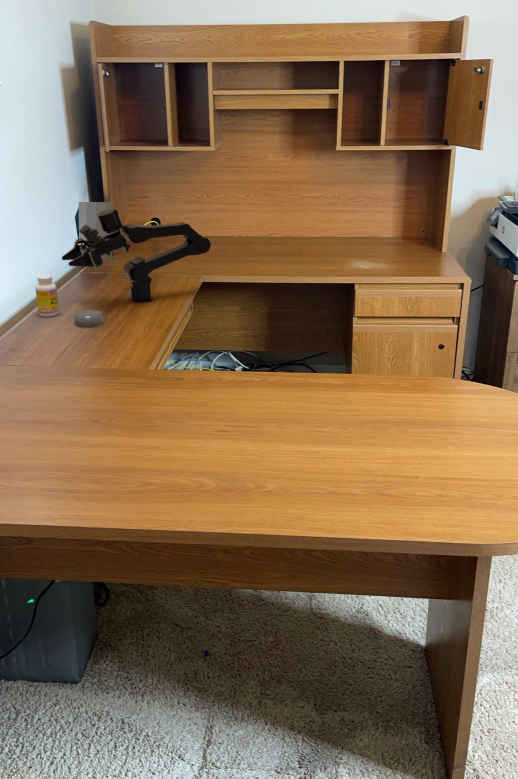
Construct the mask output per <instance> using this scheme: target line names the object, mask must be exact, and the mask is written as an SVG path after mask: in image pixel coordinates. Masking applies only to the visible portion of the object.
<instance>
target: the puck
mask: <svg viewBox="0 0 518 779" xmlns="http://www.w3.org/2000/svg"><path fill="white" fill-rule="evenodd" d="M73 323H74V326H75V325H77V326H79V327H78V328H83V327H89V328H95V327H94V326H96V327H99V326H101V325H103V324H102V323H104V316H103V312H102V311H100V310H96V309H95V310H94V309H87V310H86V309H85V310H84V309H83V310H81V311H80V310H79V311H77V312H75V313H74V314H73ZM100 324H101V325H100ZM98 325H99V326H98ZM77 326H76V327H77Z"/></svg>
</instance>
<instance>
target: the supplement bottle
mask: <svg viewBox="0 0 518 779" xmlns="http://www.w3.org/2000/svg"><path fill="white" fill-rule="evenodd" d="M36 280H37V282H38V283H37V284H36V285H35V296H36V297H35V298H36V303H37V304H36V306H37V312H38V315H39V316H40V317H45V318H47V317H48V318H49V317H54V316H57V315H58V314H59V313H60V311H59V310H60V309H59V300H58V291H57V285H56V283H54V282H53V276H52V275H51V274H42V275H38V276H37V278H36Z"/></svg>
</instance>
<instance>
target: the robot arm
mask: <svg viewBox="0 0 518 779" xmlns="http://www.w3.org/2000/svg"><path fill="white" fill-rule="evenodd" d="M96 216H97V219H98V221H99V224H100V227H101V229H102V231H103V233H104V232H105V233H107V235H103V236H102V235H101V236H100V235H99V231H98V230H97V229H96V228H91V227H90V226H89V225H87V224H84V225H83V226H82V227H80V229H79V230H78V232H79V233H80V234H81V235H83V236H84V238H85V239H86V240H85V239H84V238H82V237H80V238H79V237H78V238H77V239H75V241H74V245H73V247H72V248H71V249H70V250H69V251H67V252H66V253H65V254H64V255H62V257H61V260H62V261H69V262H68V267H91V268H94V267H95V268H98V267H100V266H102V265H103V263H104V260H103V259H102V257H103V256H106V255H107V256H110V255H111V253H113V252H115V251H118V250H120V249H122V250H123V251H124V252H126V253H129V250H130V249H131V248H130V247H131V244H129V243H128V241H130V242H131V243H133V244H140V243H144V242H147V241H148V240H150V239H155V238H166V237H175V236H182V237H183V238H184V239H185V241H184V242H183V243H182V244H179V245H178V246H175V247H173V248H170V249H168V250H165V251H163V252H160V253H158V254H155V255H153V256H150V257H149V258H143V257H142V256H140V255H137V256H136V257H134V258H131V259H128V261H127V262H126V263H125V264H124V266H123V274H124V275H125V276H126V277H127V278H128V279H129V281H130V286H129V287H128V288H129V298H130V300H131V301H132V302H134V303H142V302H151V301H153V297H152V296H151V294H152V293H151V283H152V280H153V279H152V278H151V277H150V276H149V275H150V274H151V273H152V272H153V271H155V270H157V269H160V268H162V267H165V266H167V265H169V264H171V263H174V262H177V261H178V260H181V259H184V258H186V257H188V256H200V255H204V254H207V253H208V252H209V251H210V250H211V246H212V245H211V241H210V240H209V238H207V237H205V236H203V235H201V234H200V233H198V232H197V231H196V230H195V229H194V228H192V226H191V225H190V224H188V223H186V222H183V221H181V222H176V223H167V224H166V223H165V224H156V225H154V224H153V225H144V224H139V223H137V224H136V223H128V224H124V223H122V221H121V218H120V216H119V212H118V209H116V208H113V209H107V210H103V211H100V212H99V213H97V214H96ZM122 233H123V235H122Z"/></svg>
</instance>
